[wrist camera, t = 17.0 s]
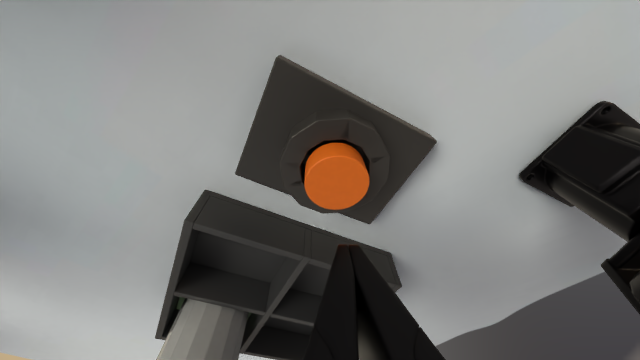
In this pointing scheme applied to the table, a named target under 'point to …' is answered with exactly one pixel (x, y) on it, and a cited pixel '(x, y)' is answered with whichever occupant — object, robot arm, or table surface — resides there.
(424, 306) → the table surface
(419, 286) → the table surface
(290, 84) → the block
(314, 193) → the button
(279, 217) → the divided tray
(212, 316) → the tumbler
